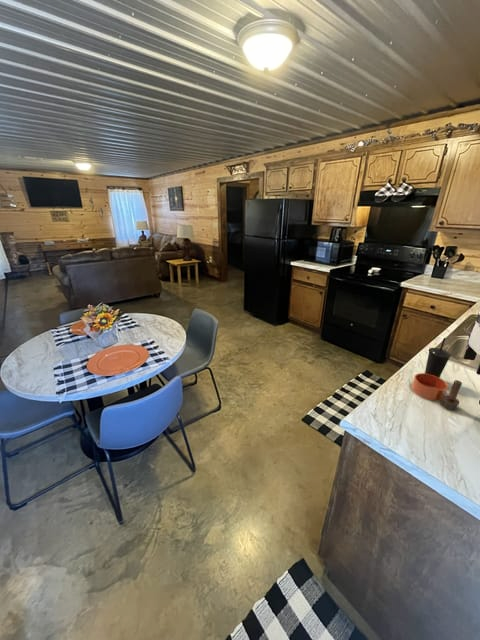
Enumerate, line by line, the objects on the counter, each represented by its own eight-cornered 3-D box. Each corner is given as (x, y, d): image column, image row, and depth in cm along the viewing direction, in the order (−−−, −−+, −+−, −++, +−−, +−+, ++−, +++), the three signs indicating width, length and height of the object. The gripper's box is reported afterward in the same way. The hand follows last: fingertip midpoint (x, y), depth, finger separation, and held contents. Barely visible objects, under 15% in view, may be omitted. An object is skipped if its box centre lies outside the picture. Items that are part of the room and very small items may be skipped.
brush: (453, 403, 99) (463, 379, 95) (458, 412, 95) (469, 387, 90) (438, 400, 100) (447, 376, 96) (443, 409, 96) (453, 384, 92)
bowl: (438, 386, 109) (442, 376, 107) (448, 403, 99) (453, 392, 97) (408, 381, 112) (411, 371, 110) (415, 397, 102) (419, 386, 100)
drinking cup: (439, 377, 115) (453, 336, 107) (443, 387, 108) (459, 344, 101) (418, 372, 118) (431, 332, 110) (421, 382, 111) (435, 340, 103)
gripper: (524, 333, 74) (503, 383, 81) (492, 312, 89) (476, 355, 96) (491, 330, 77) (473, 379, 83) (465, 310, 92) (452, 353, 98)
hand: (475, 366), depth 90 cm, fingers open, 9 cm apart
